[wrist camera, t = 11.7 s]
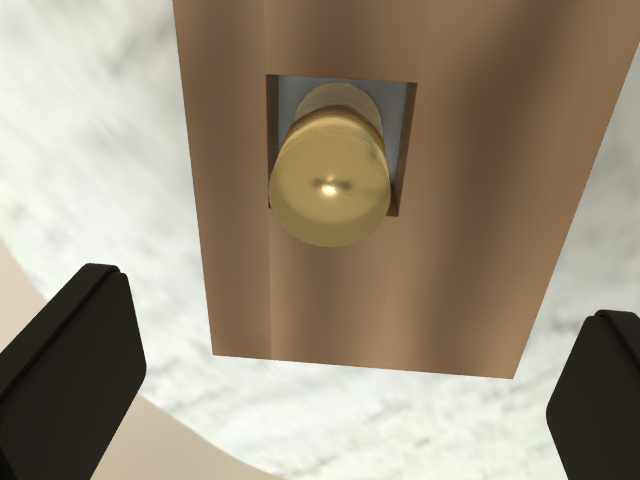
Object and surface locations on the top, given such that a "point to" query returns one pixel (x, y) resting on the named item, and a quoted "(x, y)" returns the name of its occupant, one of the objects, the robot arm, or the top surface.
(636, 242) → the top surface
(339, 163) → the brass cylinder
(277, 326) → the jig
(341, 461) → the top surface
